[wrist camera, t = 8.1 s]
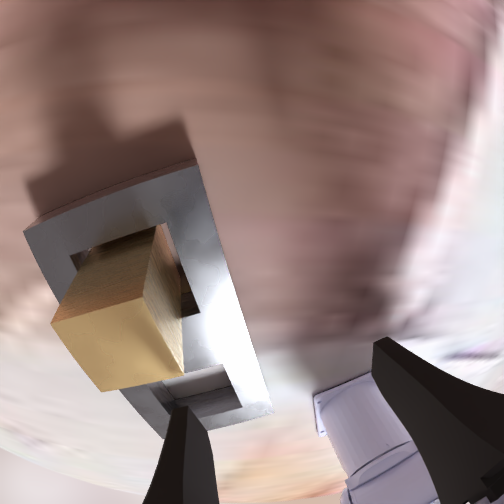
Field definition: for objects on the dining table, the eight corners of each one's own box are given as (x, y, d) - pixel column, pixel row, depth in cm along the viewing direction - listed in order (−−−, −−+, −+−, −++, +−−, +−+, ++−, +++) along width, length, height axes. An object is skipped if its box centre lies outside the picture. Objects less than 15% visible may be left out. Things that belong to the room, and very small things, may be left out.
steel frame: (267, 391, 25) (274, 412, 22) (162, 417, 24) (163, 439, 21) (196, 158, 15) (198, 164, 13) (40, 216, 14) (22, 231, 12)
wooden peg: (180, 277, 18) (184, 375, 11) (122, 294, 18) (101, 392, 11) (158, 218, 16) (142, 297, 9) (97, 239, 16) (50, 323, 9)
